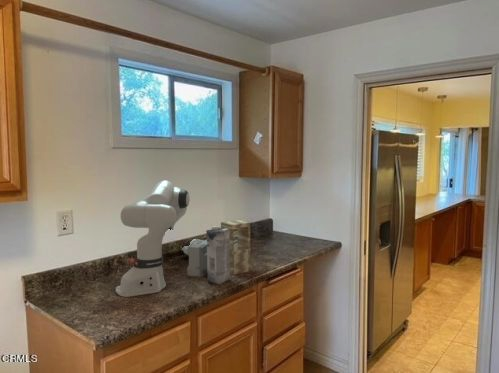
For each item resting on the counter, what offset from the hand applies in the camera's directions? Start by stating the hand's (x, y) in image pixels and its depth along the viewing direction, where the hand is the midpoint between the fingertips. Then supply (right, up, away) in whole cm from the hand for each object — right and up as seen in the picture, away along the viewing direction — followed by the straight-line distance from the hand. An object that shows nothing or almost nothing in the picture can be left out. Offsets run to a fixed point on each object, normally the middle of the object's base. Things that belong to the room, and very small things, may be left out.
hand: (205, 250), depth 223 cm
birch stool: (+19, -7, -22) cm, 30 cm away
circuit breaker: (+2, -8, -28) cm, 29 cm away
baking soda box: (+16, -4, +16) cm, 23 cm away
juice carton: (+11, -8, -39) cm, 41 cm away
